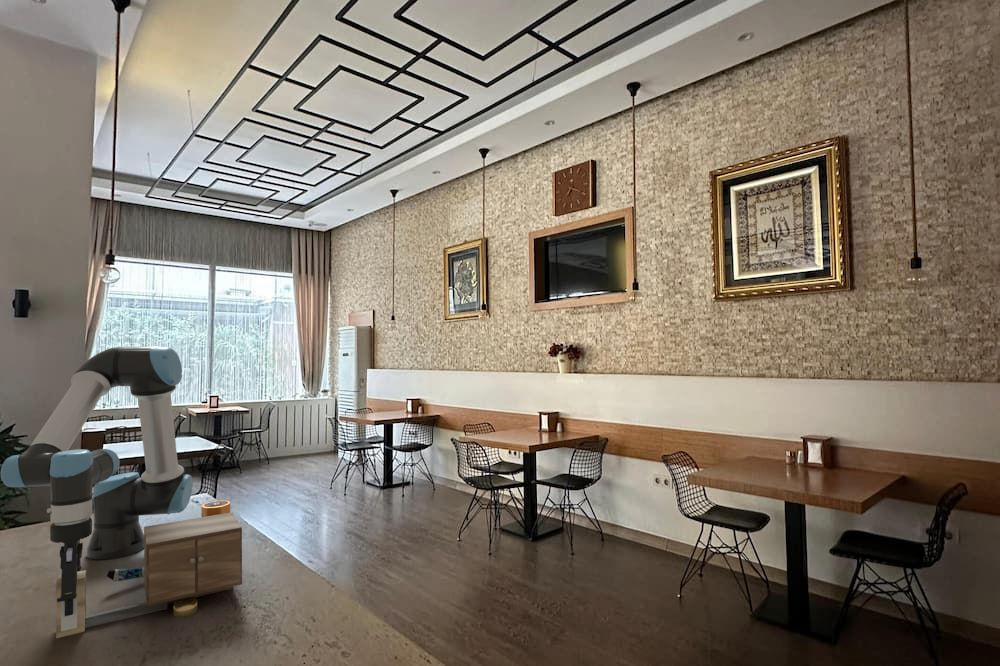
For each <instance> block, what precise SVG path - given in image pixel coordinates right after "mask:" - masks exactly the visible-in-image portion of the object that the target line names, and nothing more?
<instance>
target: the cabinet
mask: <svg viewBox="0 0 1000 666" xmlns="http://www.w3.org/2000/svg"><path fill="white" fill-rule="evenodd" d="M143 528H144V529H143V534H144V548H143V552H144V553H143V555H144V556H143V559H144V560H143V563H144V564H143V567H144V577H143V582H144V583H143V584H144V596H145V602H146V606H151V605H155V604H159V603H164V602H167V605H169V604H174V603H175V602H176V601H178V600H180V599H184V598H189V597H194V598H199V597H203V596H208V595H211V594H217V593H220V592H225V591H228V590H232V589H233V590H234V587H236V586H240V585H243V526H242V525H241V524H240V522H239V520H238V519H237V517H236V516H235V514H234V513H233V512H231V511H230V513H225V514H219V515H213V516H207V517H202V516H201V517H195V518H189V519H183V520H178V521H177V520H176V521H171V522H167V523H166V522H165V523H158V524H154V525H146V526H144V527H143Z"/></svg>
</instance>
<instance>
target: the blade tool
mask: <svg viewBox="0 0 1000 666" xmlns="http://www.w3.org/2000/svg"><path fill="white" fill-rule="evenodd" d="M61 581H62V574H59V575H57V579H56V582H55V587H56V588H55V604H56V606H55V614H56V616H55V619H56V620H55V622H56V623H55V627H56V628H55V632H56V633H55V638H56V639H59V638H63V637H67V636H72V635H76V634H80V633H84V632H85V630H86V629H87V628H88V629H89V628H93V627H97V626H100V625H105V624H109V623H113V622H117V621H122V620H125V619H130V618H133V617H138V616H142V615H147V614H150V613H154V612H158V611H163V610H167V609H168V604H167V602H164V603H159V604H155V605H151V606H146V601H144V602H140V603H139V602H138V603H136V604H135V603H134V604H131V605H127V606H121V607H119V608H113V609H110V610H105V611H101V612H96V613H91V614H87V570H86V569H84V570H83V569H82V570H81V571H78V572H77V587H76V594H77V628H74V629H69V630H65V631H61V602H57V598H60V597H61ZM66 594H70V593H66Z"/></svg>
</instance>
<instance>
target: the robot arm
mask: <svg viewBox="0 0 1000 666" xmlns="http://www.w3.org/2000/svg"><path fill="white" fill-rule="evenodd" d="M182 373H183V368H182V362H181V359H180V357H179V354H178V353H177V352H176V351H175V349H173V348H172V347H169V346H158V345H155V346H152V345H151V346H128V347H127V346H117V347H110V348H107V349H105V350H103V351H101V352H98V353H96V354H95V355H93V356H92V357H90V358H89V359H88V360H86V361H85V362H83V363H82V364H81V365H80V366H79V367H78V369H76V371H75V372H74V373H73V375H72V376H71V379H70V384H71V386H70V387H69V389H68V390H67V392H65V394H64V396H63V397H62V398H61V400H60V402H59V403H58V405H57V406H56V408H55V409H54V410H53V412H52V414H51V415H50V416H49V418H48V420H47V421H45V424H44V425H43V426H42V428H41V430H40V431H39V433H38V434H37V436H36V437H35V438H34V440H33V441H32V442H31V444H30V446H28V448H27V450H26V451H25V453H23V454H21V453H20V454H17V455H11V456H9V457H7V458H6V459H5V460H4V461H3V463H2V465H1V469H0V479H1V481H2V482H3V484H4V485H5V486H6V487H8V488H9V487H10V488H25V489H26V488H27V489H28V488H30V487H31V488H32V487H50V502H49V503H50V508H49V507H48V508H47V509H46V513H48V514H50V522H51V524H50V526H49V529H50V531H49V539H50V542H52V543H58V544H59V543H63V545H62V546H60V549H59V558H60V569H61V575H62V581H61V597H60V598H57V602H61V631H65V630H69V629H74V628H77V594H76V587H77V572H78V571H82V566H81V559H82V557H83V556H82V555H83V549H84V544H83V543H84V542H81V540H83V539H86V538H89V537H90V539H89V542H88V544H87V547H86V557H87V559H89V560H90V559H91V560H110V559H116V558H121V557H125V556H129V555H132V554H135V553H138V552H139V551H142V550H144V530H143V529H142V526H141V524H140V516H155V515H171V514H179V513H181V512H184V510H185V509H186V508H187V507H188V505H189V502H190V500H191V496H192V493H193V492H192V491H193V484H194V481H193V477H192V475H190V474H188V473H187V474H185V468H184V467H183V466H182V465H180V464H179V463H178V462H179V461H178V452H177V443H176V442H177V441H176V433H175V423H174V414H173V404H172V395H171V394H172V393H173V392H174V391H175V390H176V389H177V387H176V386H177V385H179V384H180V382H181V380H182ZM115 387H129V389H130V394H131V396H132V397H134V398H136V399H137V405H138V412H139V413H138V414H139V422H140V429H141V430H140V431H141V438H142V448H143V456H144V463H145V470H144V471H143V473H142V474H139V473H140V472H135V471H131V472H130V471H129V472H125V473H120V474H119V473H118V474H116V473H117V472H118V470H119V468H120V466H121V465H120V463H121V462H120V458H119V455H118V454H117V453H116V452H115V451H113V450H111V449H108V448H101V449H95V450H92V451H91V450H89V449H82V448H80V449H70V448H71V446H72V445H73V443H74V442H75V440H76V439H77V437H78V435H79V434H80V431H81V430H82V428H83V427H84V425H85V423H86V422H87V421H88V419H89V417H90V415H91V414H92V413H93V411H94V409H95V408H96V405H97V404H98V403H99V402H100V401H99V400H101V398H102V397H104V396H106V395H107V394H108V393H109V392H110V391H111V389H112V388H115ZM69 449H70V450H69ZM115 474H116V475H115ZM140 475H141V476H140ZM93 486H94V487H93ZM92 515H93V518H91V517H92ZM66 593H70V594H66Z"/></svg>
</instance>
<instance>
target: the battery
mask: <svg viewBox="0 0 1000 666" xmlns="http://www.w3.org/2000/svg"><path fill="white" fill-rule="evenodd" d="M225 513H231V501H229V500H214V501H209V502H206V503H203V504H202V505H201V517H207V516H213V515H219V514H225Z"/></svg>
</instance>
